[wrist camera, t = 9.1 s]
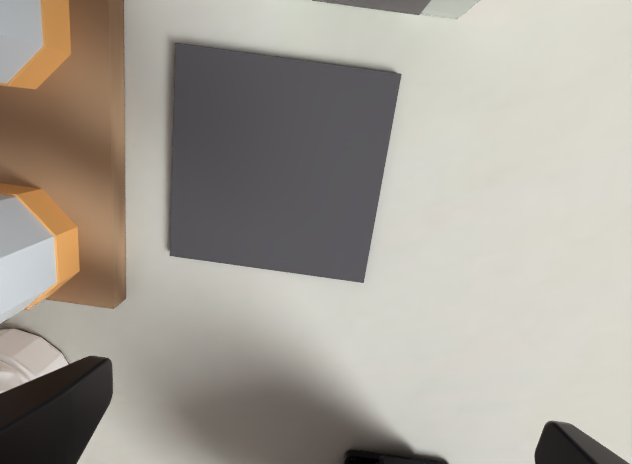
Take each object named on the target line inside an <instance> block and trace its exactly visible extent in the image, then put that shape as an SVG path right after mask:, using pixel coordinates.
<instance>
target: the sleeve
mask: <svg viewBox="0 0 632 464" xmlns="http://www.w3.org/2000/svg"><path fill="white" fill-rule="evenodd" d="M70 55H71V40H70V17H69V0H0V85H2V86H10V87H19V88H28V89H37V88H38V87H39V86H40V85H41V84H42V83H43V82H44V81H45V80H46V79H47V78H48V77H49V76H50V75H51V74H52V73H53V72H54V71H55V70H56V69H57V68H58V67H59V66H60V65H61V64H62V63H63V62H64V61H65V60H66V59H67V58H68V57H69V56H70Z"/></svg>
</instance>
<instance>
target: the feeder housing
mask: <svg viewBox="0 0 632 464" xmlns="http://www.w3.org/2000/svg"><path fill="white" fill-rule="evenodd" d="M312 1H320V2H327V3H334V4H342V5H349V6H356V7H364V8H371V9H378V10H385V11H393V12H400V13H407V14H415V15H420V14H422V15H429V16H437V17H444V18H451V19H458V18H459V17H461V16H462V15H463V14H464V13H465V12H467V11H468V10H469V9H470V8H472V7H473V6H474V5H475V4H476V3H478V2H479V1H480V0H312Z"/></svg>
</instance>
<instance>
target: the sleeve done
mask: <svg viewBox="0 0 632 464" xmlns="http://www.w3.org/2000/svg"><path fill="white" fill-rule="evenodd" d="M79 271H80V268H79V245H78V227H77V226H76V225H75V223H74V222H73V221H72V220H71V219H70V218H69V217H68V216H67V215H66V214H65V213H64V212H63V211H62V210H61V209H60V208H59V207H58V205H57V204H56V203H55V202H54V201H53V200H52V199H51V198H50V197H49V196H48V195H47V194H46V193H45V192H44V191H43V190H42V189H39V188H32V187H25V186H18V185H10V184H3V183H0V323H2V322H4V321H5V320H7V319H9V318H10V317H12V316H14V315H15V314H17V313H19V312H20V311H22V310H28V309H29V308H31V307H33V306H34V305H36V304H38V303H39V302H41V301H42V300H44V299H46V298H47V297H49V296H50V295H51V294H53V293H54V292H55V291H56V290H57V289H59V288H60V287H61V286H62V285H64V284H65V283H66V282H67V281H68V280H70V279H71V278H72V277H73V276H74V275H76V274H77V273H78V272H79Z"/></svg>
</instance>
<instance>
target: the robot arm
mask: <svg viewBox="0 0 632 464" xmlns="http://www.w3.org/2000/svg"><path fill="white" fill-rule="evenodd" d="M112 394H113V373H112V362H111V360H110V359H109V358H105V357H98V356H88V357H85V358H83V359H81V360H78V361H76V362H74V363H71V364H69V365H66V366H64V367H62V368H59V369H57V370H55V371H52V372H50V373H48V374H45V375H43V376H40V377H38V378H36V379H33V380H31V381H29V382H26V383H24V384H22V385H19V386H17V387H14V388H12V389H10V390H7V391H5V392H3V393H0V464H77V462H78V460H79V459H80V457H81V455H82V453H83V451H84V450H85V448H86V446H87V444H88V442H89V440H90V439H91V437H92V435H93V433H94V431H95V429H96V428H97V426H98V424H99V422H100V420H101V419H102V417H103V415H104V413H105V411H106V409H107V408H108V406H109V404H110V401H111V398H112ZM351 459H355V460H351ZM343 464H447V463H442V462H435V461H428V460H421V459H414V458H407V457H399V456H392V455H385V454H378V453H371V452H364V451H357V450H350V451H348V452H346V453H345V456H344V461H343ZM535 464H629V463H628V462H626V461H625V460H623V459H622V458H620V457H619V456H618V455H616V454H615V453H613V452H612V451H610V450H609V449H607V448H606V447H604V446H603V445H601V444H600V443H598V442H597V441H595V440H594V439H593V438H591V437H590V436H588V435H587V434H585V433H584V432H582V431H581V430H579V429H578V428H576V427H575V426H573V425H572V424H569V423H565V422H558V421H548V422H547V423H546V424H545V426H544V428H543V431H542V434H541V437H540V439H539V442H538V445H537V447H536V450H535Z"/></svg>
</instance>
